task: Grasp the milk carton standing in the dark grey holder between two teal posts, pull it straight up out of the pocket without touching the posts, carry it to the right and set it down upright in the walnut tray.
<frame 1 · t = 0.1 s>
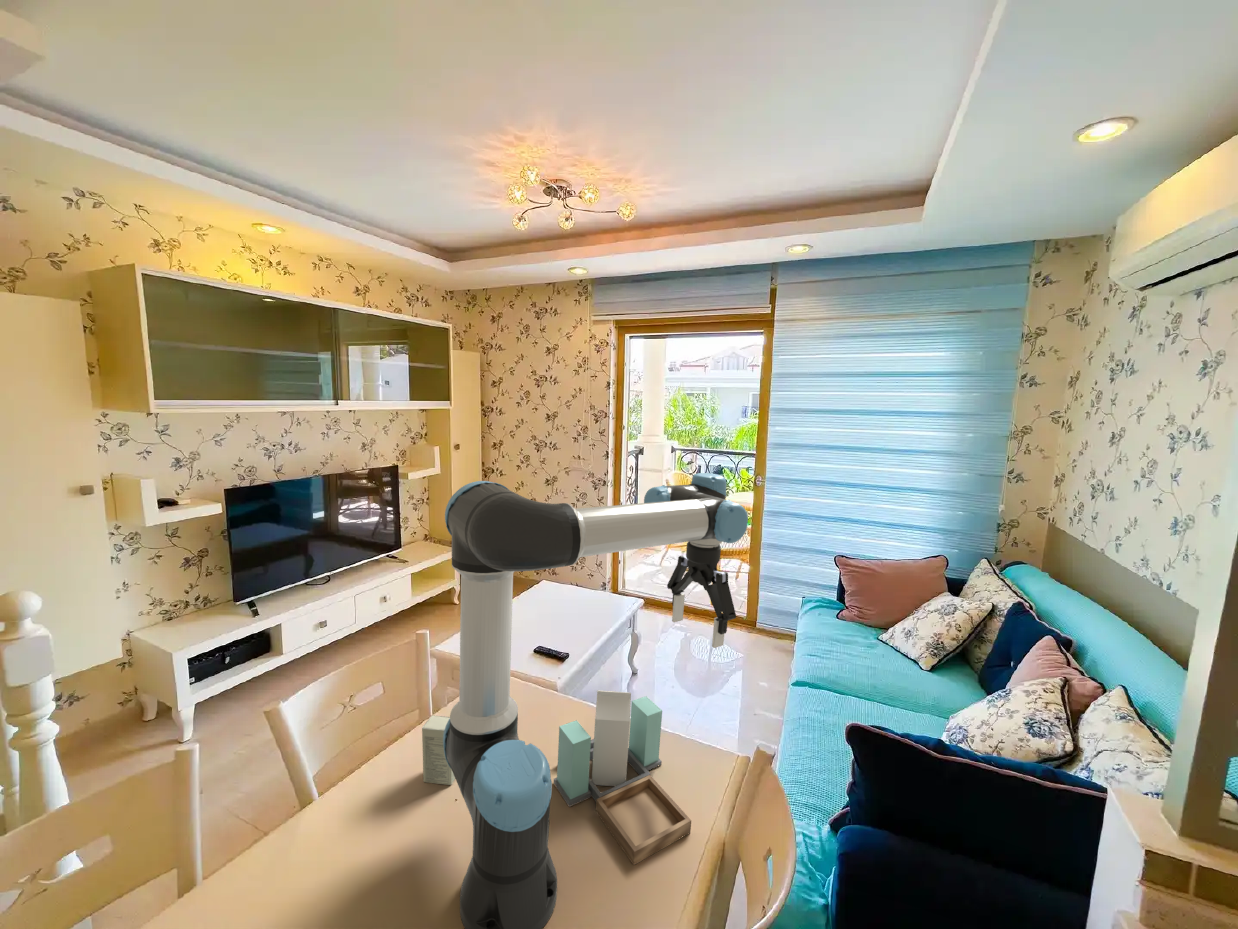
hand: (696, 633, 114), 28 cm above the table, fingers open, 13 cm apart
milk carton: (609, 774, 107), resting in holder
tray: (642, 822, 96), on the table
holder: (609, 773, 107), on the table
skincare box: (441, 777, 104), on the table
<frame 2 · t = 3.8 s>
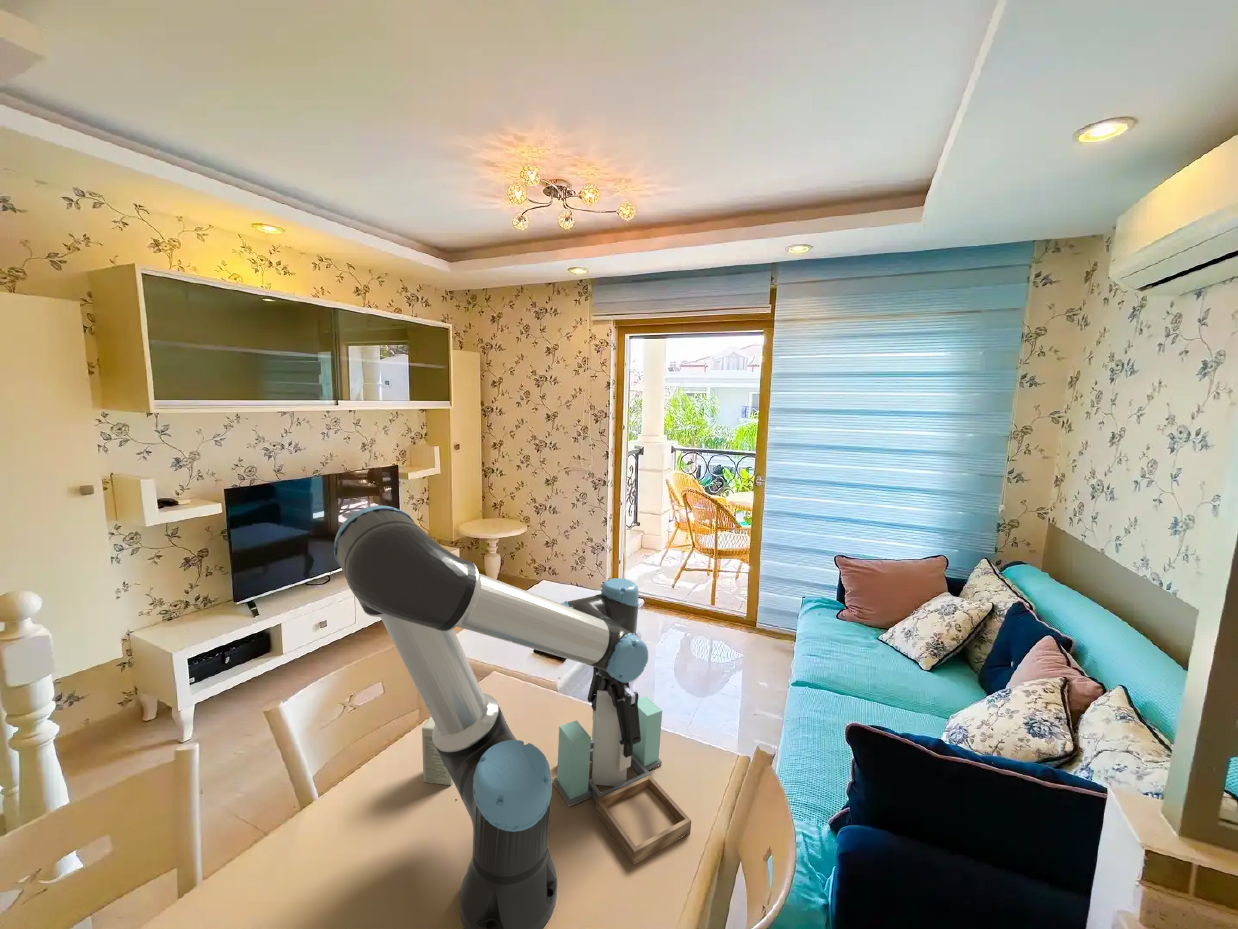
hand: (610, 751, 107), 5 cm above the table, fingers closed on milk carton, 10 cm apart
milk carton: (609, 774, 107), resting in holder, touching gripper
everything else where it was.
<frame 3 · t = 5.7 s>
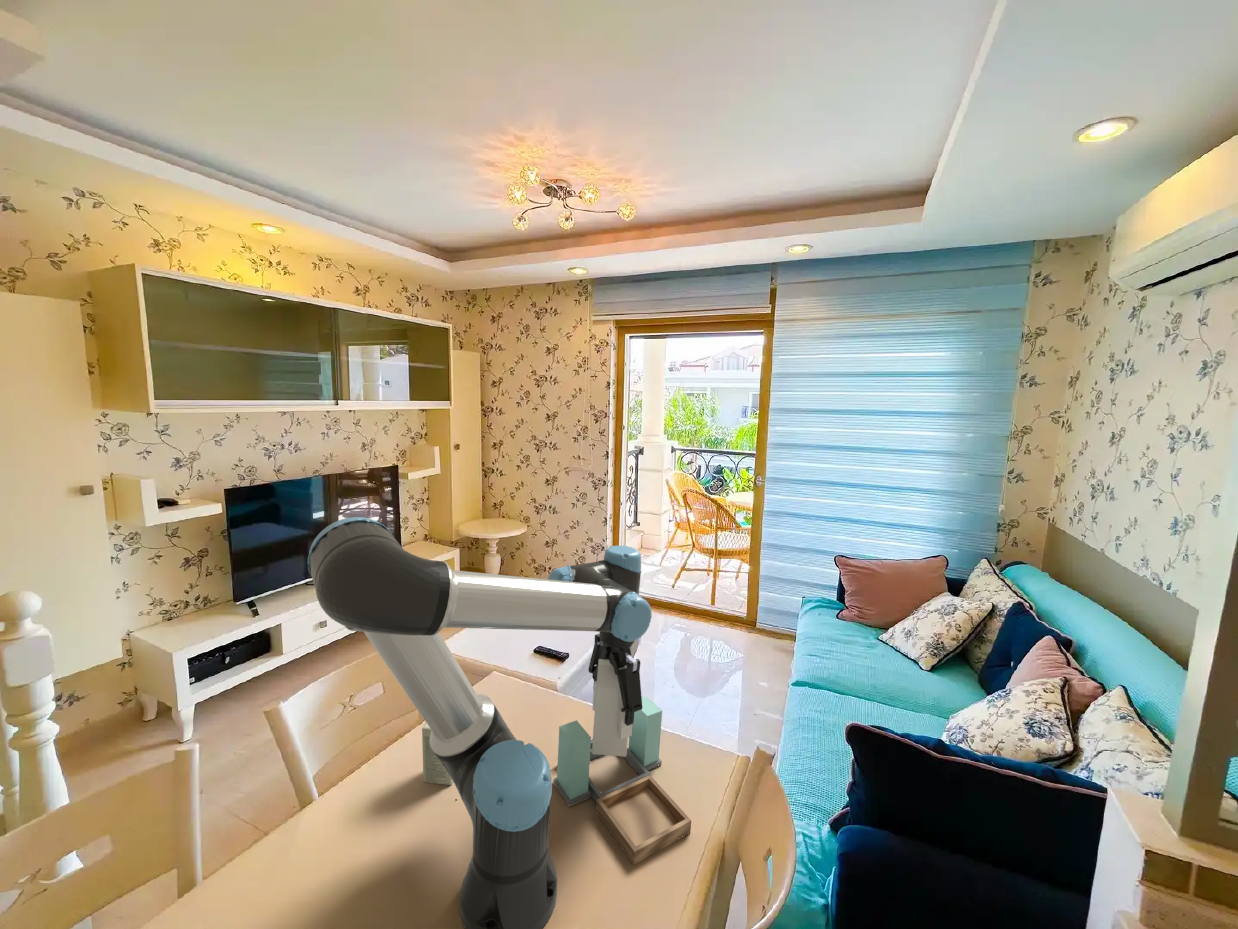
hand: (611, 722, 105), 12 cm above the table, fingers closed on milk carton, 10 cm apart
milk carton: (609, 745, 106), point 7 cm above the table, touching gripper
everything else where it was.
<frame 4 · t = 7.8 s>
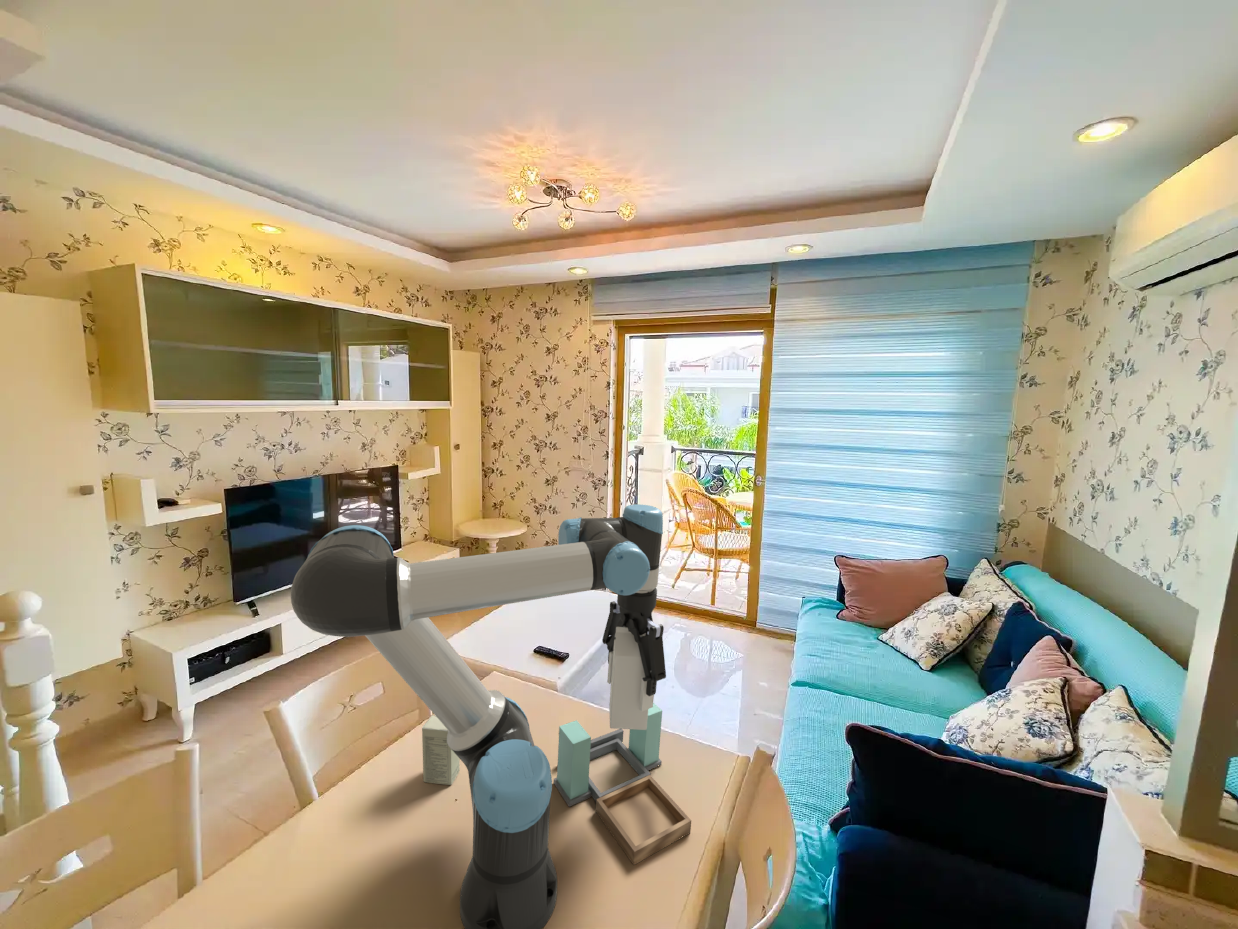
hand: (629, 694, 98), 22 cm above the table, fingers closed on milk carton, 10 cm apart
milk carton: (627, 719, 99), point 17 cm above the table, touching gripper
everything else where it was.
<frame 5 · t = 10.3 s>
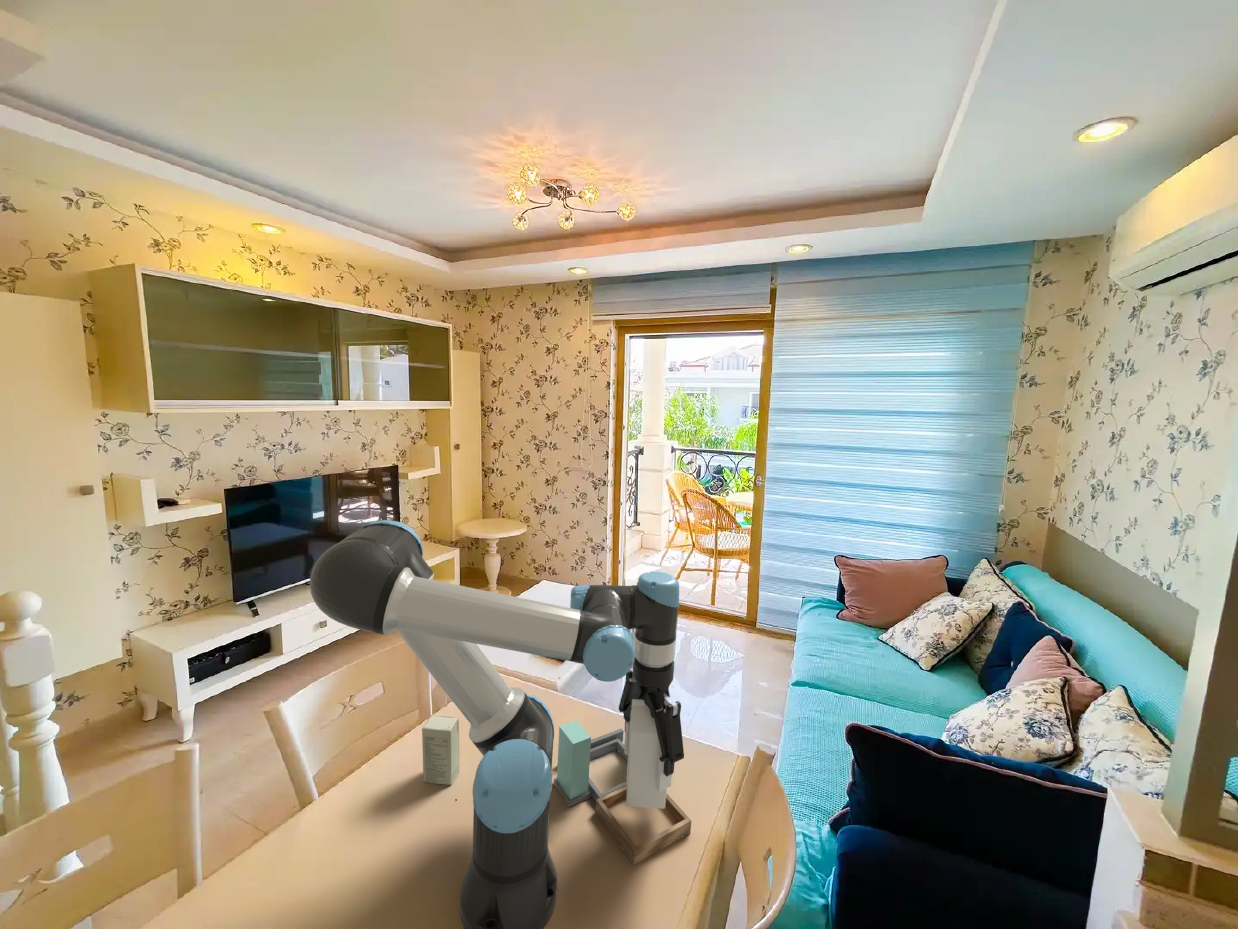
hand: (646, 768, 94), 11 cm above the table, fingers closed on milk carton, 10 cm apart
milk carton: (645, 794, 95), point 6 cm above the table, touching gripper
everything else where it was.
when the fingers open (7 cm above the table, at t = 12.2 s): milk carton stays where it is, resting on tray.
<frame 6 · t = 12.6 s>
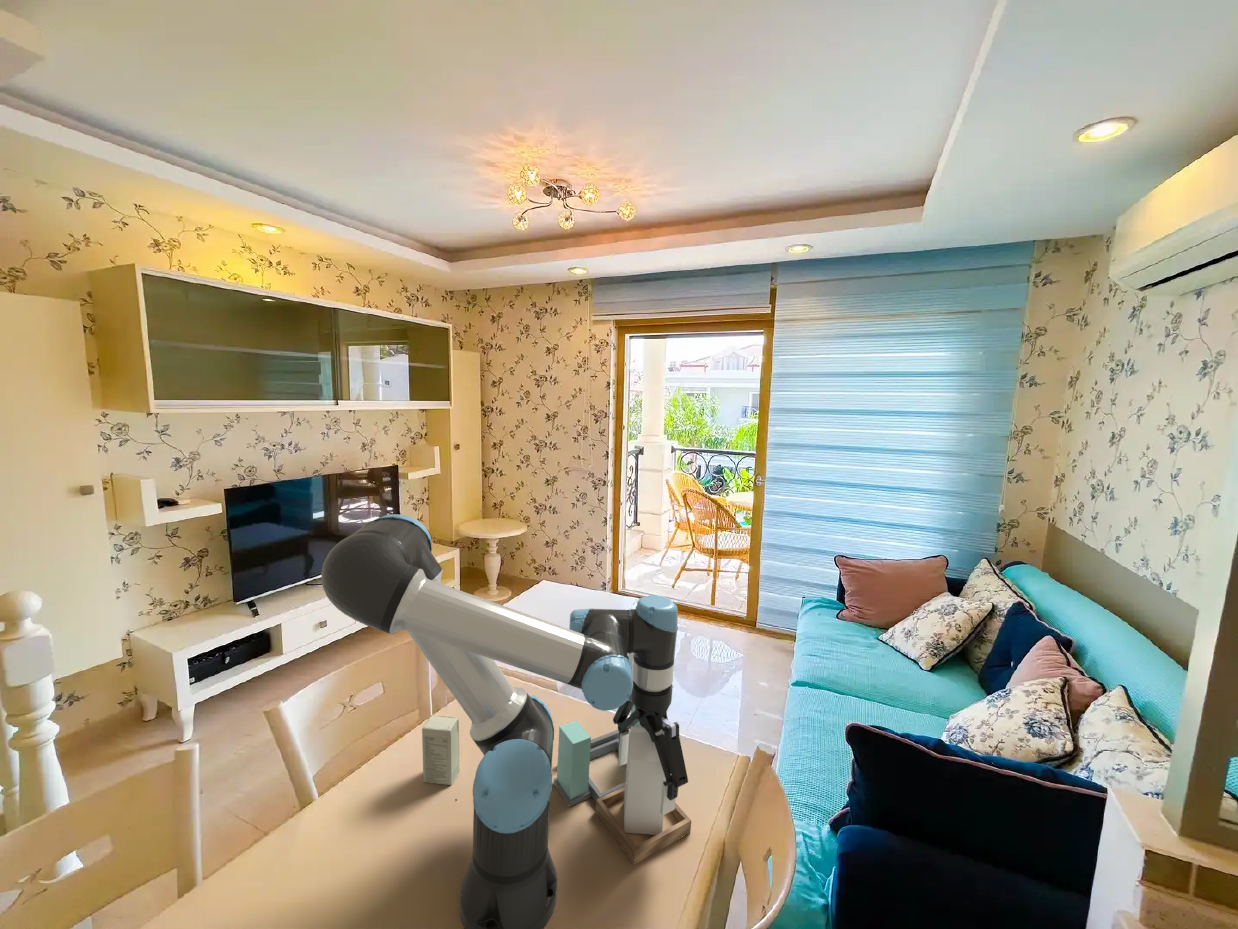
hand: (644, 785, 95), 8 cm above the table, fingers open, 13 cm apart
milk carton: (642, 819, 96), resting on tray
everything else where it was.
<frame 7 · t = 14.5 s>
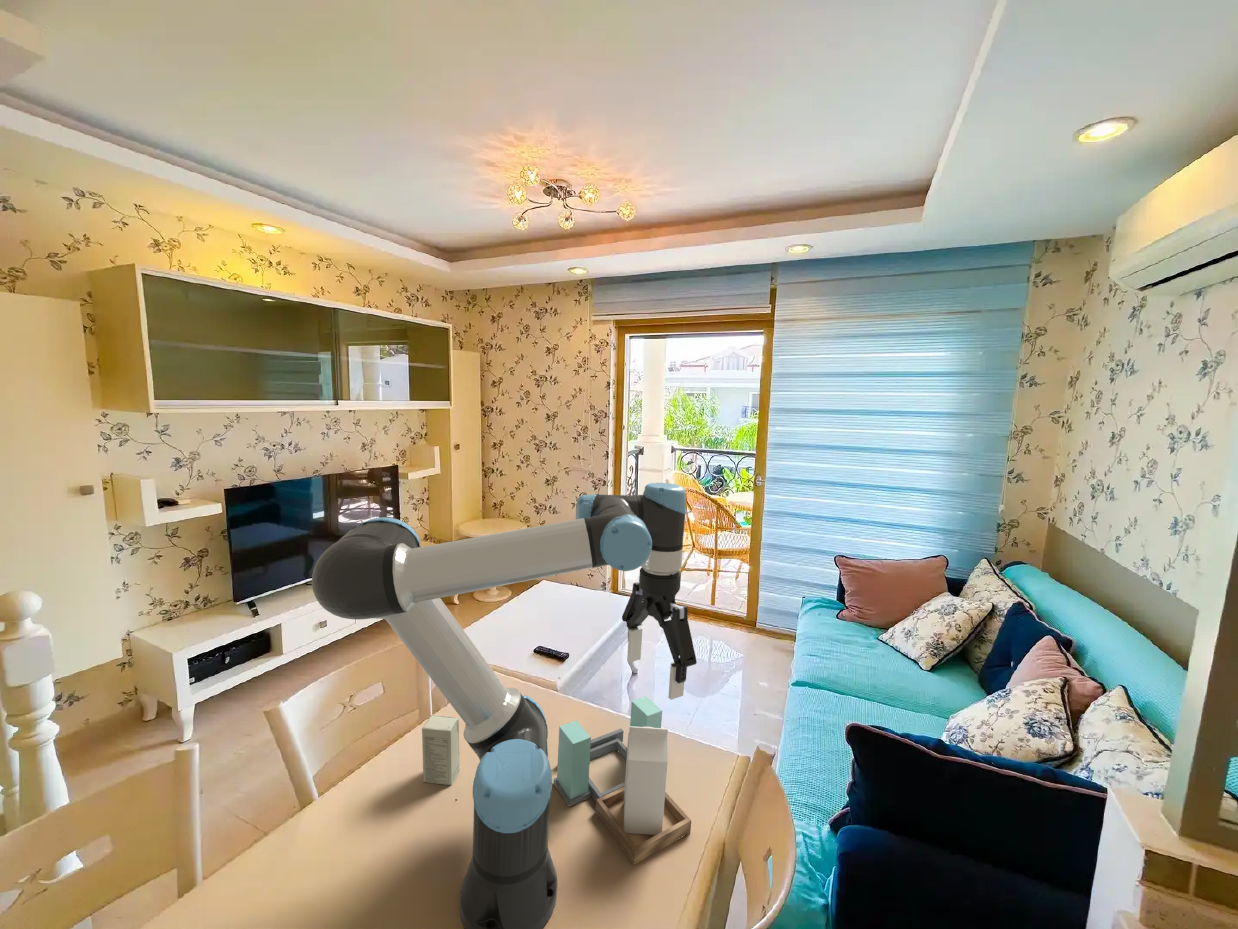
hand: (653, 677, 94), 29 cm above the table, fingers open, 13 cm apart
nothing on the table moved.
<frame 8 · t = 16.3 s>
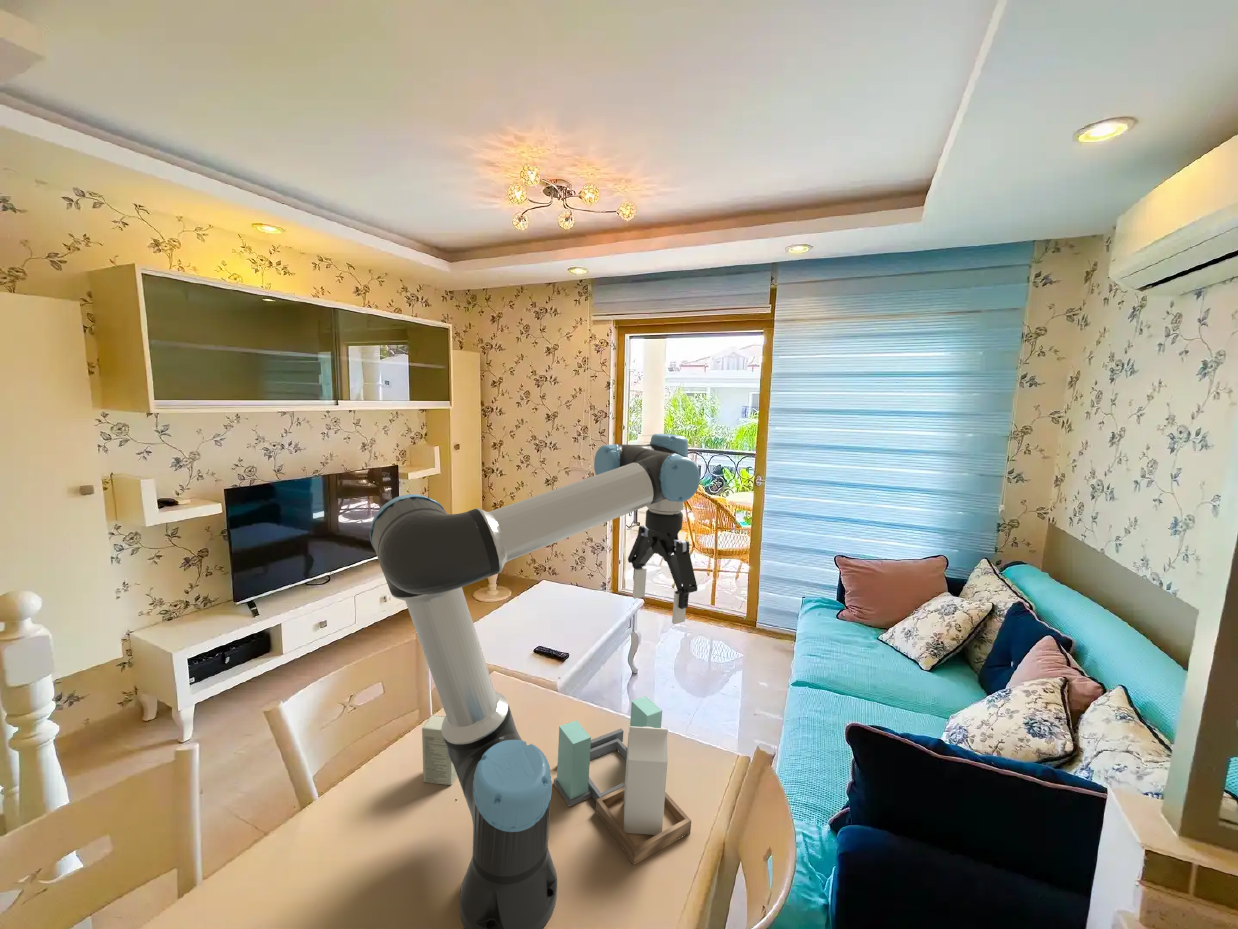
hand: (657, 609, 105), 37 cm above the table, fingers open, 13 cm apart
nothing on the table moved.
at the end: milk carton inside the target area on the tray (0.0 cm from its centre), point 0.4 cm above the tray's base; milk carton tilted 0°; the gripper is holding nothing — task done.
